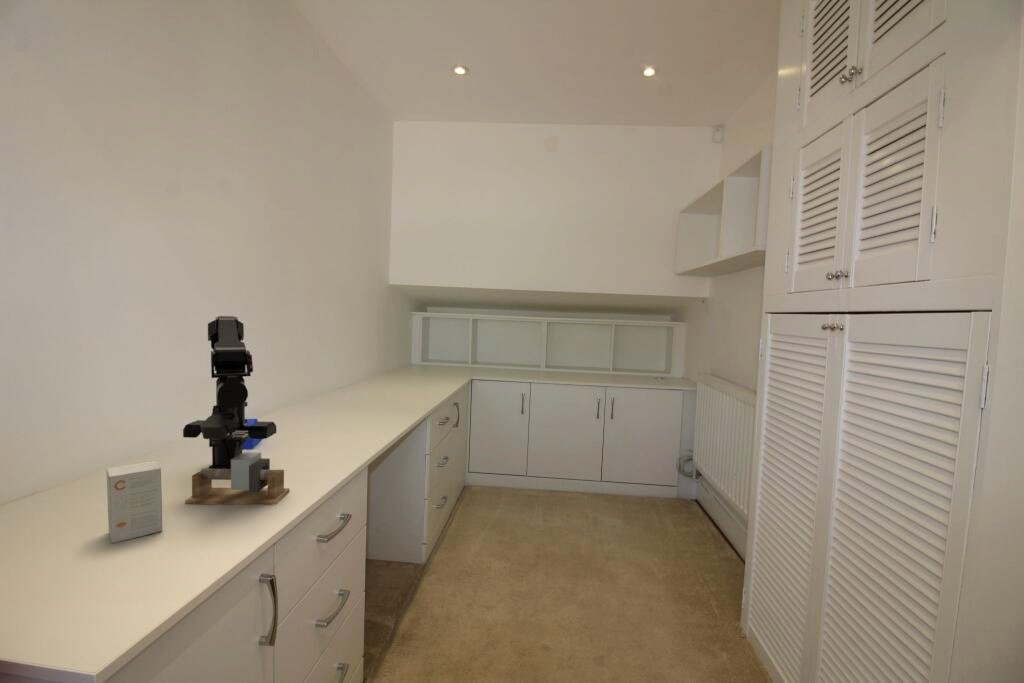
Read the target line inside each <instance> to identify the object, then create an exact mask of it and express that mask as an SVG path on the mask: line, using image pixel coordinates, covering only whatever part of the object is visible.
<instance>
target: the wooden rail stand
mask: <svg viewBox="0 0 1024 683" xmlns="http://www.w3.org/2000/svg"><path fill="white" fill-rule="evenodd" d="M212 480H217V481H219V480H221V481H225V480H227V481H231V468H209V467H208V468H207V467H206V468H201V469H200V471H197V472H195V473H194V474H192V475H191V496H190V497H188V498H187V499H185V500H184V504H185V503H189V504H188V505H191V504H190V503H194V504H193V505H198V504H197V503H202V504H201V505H250V504H267V505H266V506H269V505H271V506H272V505H273V504H275V505H277V502H278V501H279V500H280V501H281V500H282V499H283V498H284V497H285V496H286V495H288V494H289V493H290V488H285V470H284V469H270V470H263V469H260V481H261V480H268V485H267V487H264V488H263V489H261V490H260V491H259V492H249V490H231V487H215V486H214V487H213V484H212V483H213V482H212ZM288 492H289V493H288ZM282 497H283V498H282ZM281 498H282V499H281ZM280 501H279V502H280ZM273 506H274V505H273Z"/></svg>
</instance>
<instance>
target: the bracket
mask: <svg viewBox="0 0 1024 683" xmlns="http://www.w3.org/2000/svg"><path fill="white" fill-rule="evenodd" d="M257 422H259V420H258V419H257V418H247V423H246V424H245V425H253V424H255V423H257ZM262 440H263V439H251V438H250V437H249V438H247V439H246V442H244V444H243V446H242V451H243V450H244V449H246V450H254V448H255V447H256V446H258V445H259V444H260V442H261V441H262ZM244 451H245V450H244Z"/></svg>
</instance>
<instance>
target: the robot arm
mask: <svg viewBox="0 0 1024 683" xmlns="http://www.w3.org/2000/svg"><path fill="white" fill-rule="evenodd" d="M244 328H245V326H244V323H243V322H241V321H239V318H238V317H237V316H234V315H232V316H231V315H224V316H223V315H218V316H216V317H215V319H214V320H212V321H210V322H208V323H207V341H208V342H210V347H211V349H212V350H210V366H211V367H210V368H211V371H210V372H211V373H210V374H211V379H215V378H216V380H215V384H216V385H215V388H216V389H215V392H216V393H215V394H216V397H215V398H216V399H215V400H216V404H215V405H213V407H212V412H211V415H210V416H208V417H207V418H206V419H204V420H202V419H201V420H200V419H198V420H195V421H192V422H190V423H187V424H185V425H184V427H183V428H182V437H183V438H192V439H193V438H198V437H199V436H200V435H201V433H202V437H203V439H205V440H208V446H209V448H211V451H212V452H211V461H212V462H211V463H212V464H210V465H209V466H208V469H231V459H233V458H235V457H237V456H238V455H240V454H242V453H243V450H242V446H243V444H244V442H246V439H247V438H249V437H250V438H251V439H262V440H266V439H268V438H270V437H272V436H273V435H275V434H277V425H276V423H275V422H274V421H258V422H257V423H255V424H253V425H246V423H247V420H248V418H246V410H245V409H246V407H248V401H247V399H248V396H249V391H248V389H247V387H246V384H245V381H246V380H245V379H244V377H251V373H253V372H254V365H253V355H252V354H251V352H250V351H249V350H247V348H246V343H245V342H243V341H244V338H245V330H244Z"/></svg>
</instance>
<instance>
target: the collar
mask: <svg viewBox="0 0 1024 683" xmlns="http://www.w3.org/2000/svg"><path fill="white" fill-rule="evenodd" d="M270 460H271V459H270V458H262V457H261V459H260V460H258V461H256V462H255V463H253V464H252V465H250V466H249V492H259V491H260V490H261V489H263V488H266V486H268V480H261V481H260V469H263V470H271V469H270V468H271V467H270V466H271V465H270V462H271V461H270Z"/></svg>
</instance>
